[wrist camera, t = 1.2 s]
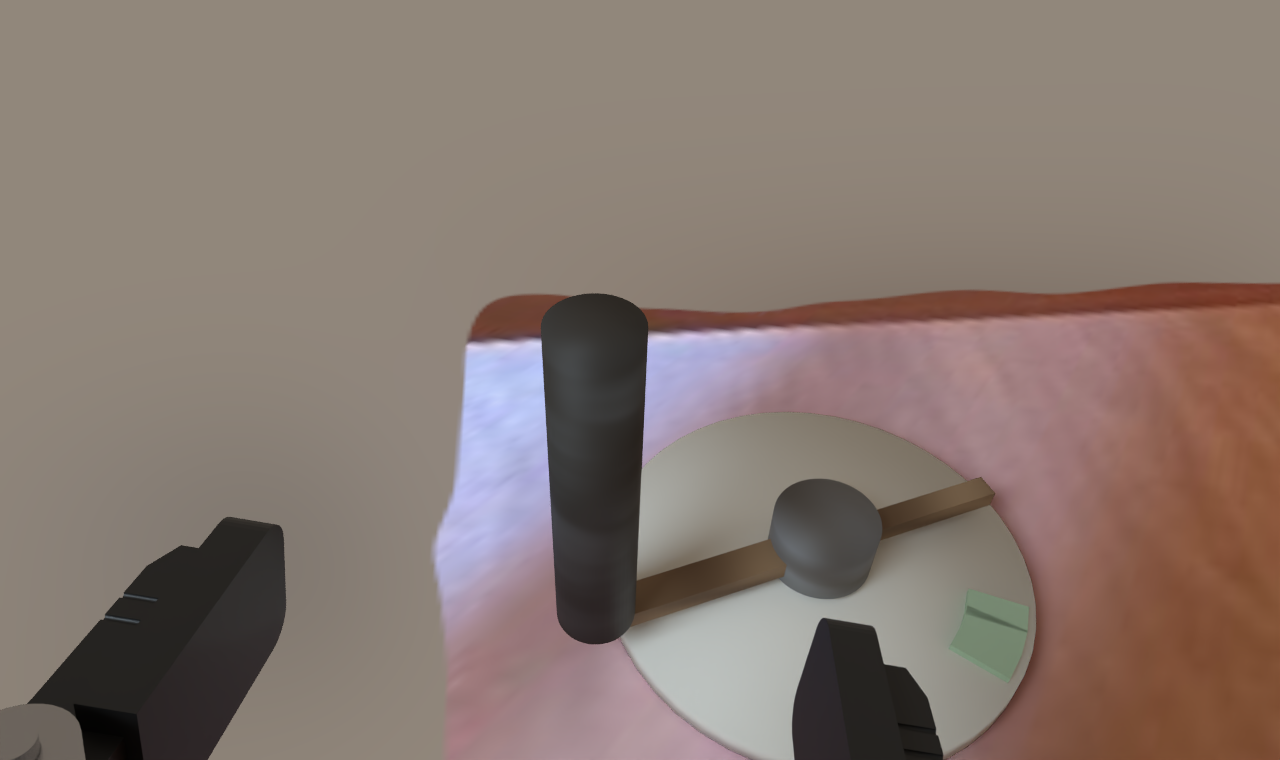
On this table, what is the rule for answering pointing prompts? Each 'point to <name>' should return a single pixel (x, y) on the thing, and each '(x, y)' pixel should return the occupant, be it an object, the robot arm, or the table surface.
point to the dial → (611, 486)
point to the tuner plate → (786, 620)
